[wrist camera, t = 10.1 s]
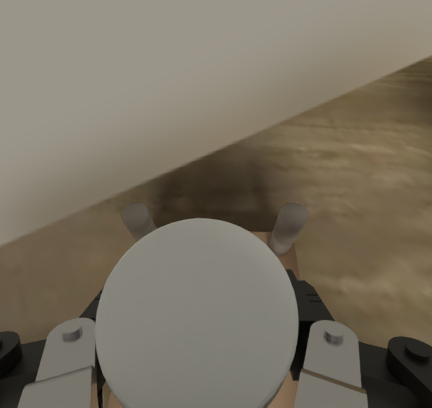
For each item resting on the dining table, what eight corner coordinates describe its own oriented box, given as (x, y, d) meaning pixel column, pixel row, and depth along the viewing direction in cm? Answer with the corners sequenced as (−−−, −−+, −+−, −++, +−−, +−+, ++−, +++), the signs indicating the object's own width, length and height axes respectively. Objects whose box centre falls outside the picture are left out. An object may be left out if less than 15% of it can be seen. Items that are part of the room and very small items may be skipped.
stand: (284, 246, 23) (310, 197, 16) (307, 422, 17) (365, 460, 10) (148, 246, 23) (119, 196, 17) (121, 418, 17) (55, 452, 10)
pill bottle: (196, 271, 17) (172, 170, 8) (280, 320, 15) (358, 259, 7) (138, 362, 14) (13, 353, 6) (232, 434, 12) (255, 575, 4)
